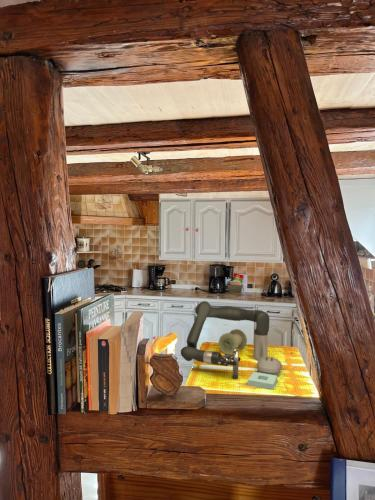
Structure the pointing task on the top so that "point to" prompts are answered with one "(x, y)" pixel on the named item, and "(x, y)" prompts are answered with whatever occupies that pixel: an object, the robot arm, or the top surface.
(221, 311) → the robot arm
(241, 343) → the spool
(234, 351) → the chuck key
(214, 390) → the top surface
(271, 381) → the block
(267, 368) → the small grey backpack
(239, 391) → the top surface
